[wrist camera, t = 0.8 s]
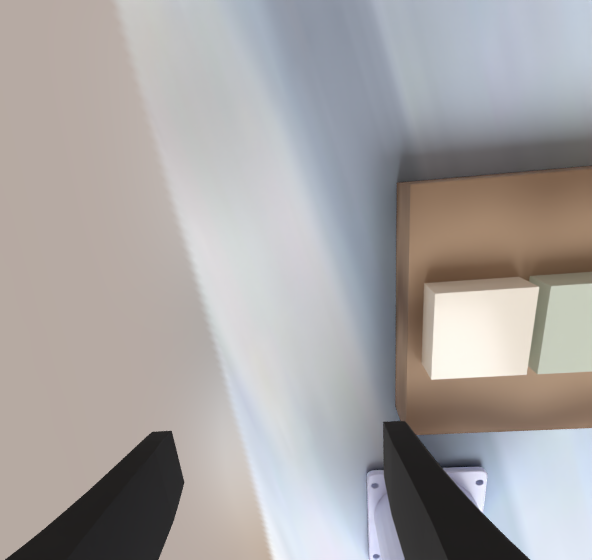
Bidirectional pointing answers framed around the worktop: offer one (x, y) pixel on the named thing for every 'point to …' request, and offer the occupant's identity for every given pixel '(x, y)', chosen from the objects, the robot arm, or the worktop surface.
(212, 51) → the worktop surface
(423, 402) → the walnut board
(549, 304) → the sage tile
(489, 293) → the cream tile
